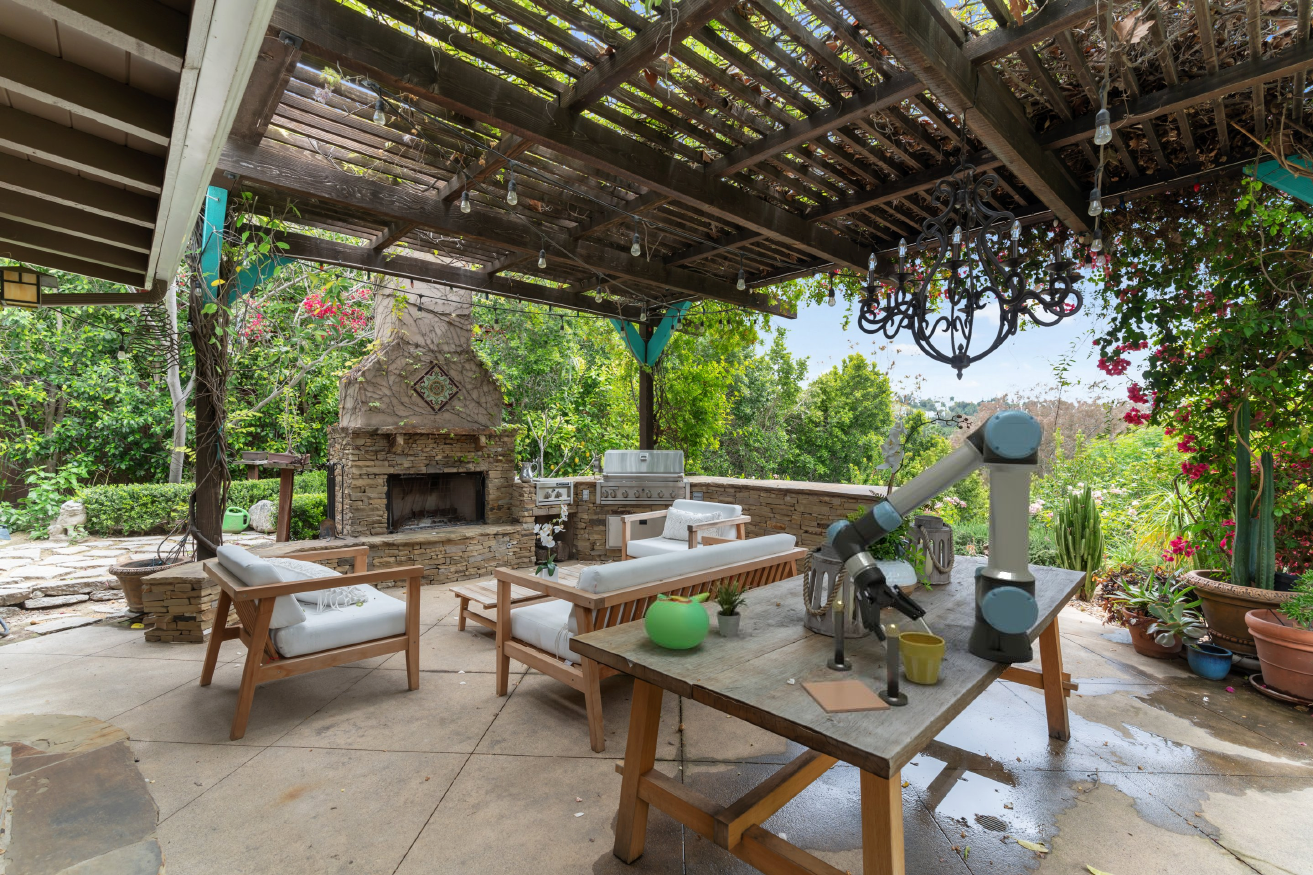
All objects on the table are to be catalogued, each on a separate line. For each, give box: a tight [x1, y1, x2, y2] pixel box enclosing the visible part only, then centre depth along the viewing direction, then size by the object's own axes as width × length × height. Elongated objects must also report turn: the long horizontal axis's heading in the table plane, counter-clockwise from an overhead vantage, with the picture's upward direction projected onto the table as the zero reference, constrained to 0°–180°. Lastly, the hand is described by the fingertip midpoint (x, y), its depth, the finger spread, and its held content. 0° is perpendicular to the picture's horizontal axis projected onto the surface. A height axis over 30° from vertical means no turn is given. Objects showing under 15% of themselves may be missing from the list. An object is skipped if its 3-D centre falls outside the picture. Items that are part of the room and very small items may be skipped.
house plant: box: [707, 578, 754, 637], centre depth 173 cm, size 14×14×16 cm
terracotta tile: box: [801, 679, 891, 714], centre depth 131 cm, size 14×14×1 cm
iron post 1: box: [826, 599, 853, 672], centre depth 149 cm, size 6×6×17 cm
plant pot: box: [899, 631, 946, 685], centre depth 141 cm, size 10×10×10 cm
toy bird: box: [644, 592, 711, 650], centre depth 163 cm, size 18×17×15 cm
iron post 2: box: [877, 622, 909, 707], centre depth 129 cm, size 6×6×17 cm
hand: (914, 648), depth 142 cm, fingers open, 13 cm apart
